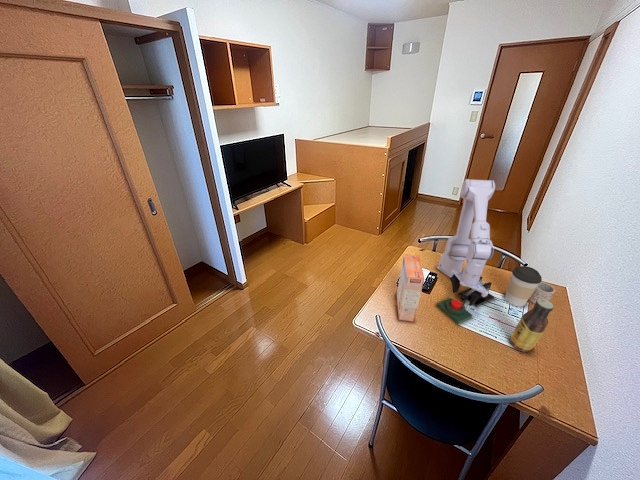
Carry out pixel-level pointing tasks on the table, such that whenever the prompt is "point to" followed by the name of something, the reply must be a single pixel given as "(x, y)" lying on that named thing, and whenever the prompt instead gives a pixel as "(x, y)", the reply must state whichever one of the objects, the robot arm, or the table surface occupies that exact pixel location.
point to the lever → (464, 296)
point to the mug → (542, 292)
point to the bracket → (482, 299)
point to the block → (454, 311)
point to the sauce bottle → (531, 326)
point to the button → (456, 304)
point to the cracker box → (409, 287)
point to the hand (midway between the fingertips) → (462, 298)
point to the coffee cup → (522, 285)
